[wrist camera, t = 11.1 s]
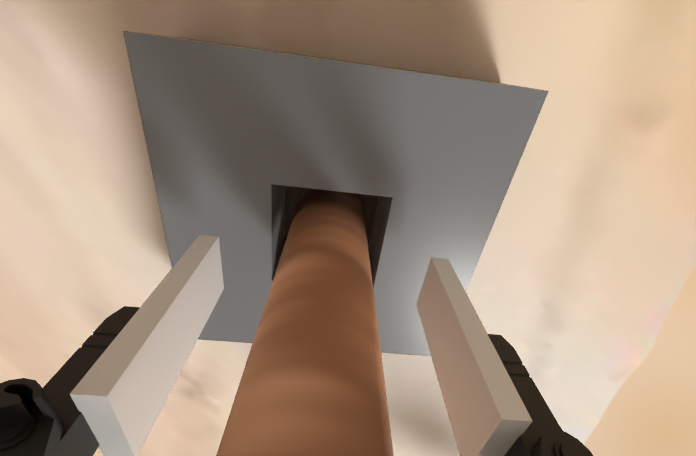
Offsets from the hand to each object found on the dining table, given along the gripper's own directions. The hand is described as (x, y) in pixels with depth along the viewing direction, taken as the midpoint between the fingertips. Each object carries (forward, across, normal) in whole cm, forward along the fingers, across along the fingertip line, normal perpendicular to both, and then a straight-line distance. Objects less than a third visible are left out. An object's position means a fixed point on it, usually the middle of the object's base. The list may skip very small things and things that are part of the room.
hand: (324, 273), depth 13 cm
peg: (+7, 0, 0) cm, 7 cm away
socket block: (+7, 0, 0) cm, 7 cm away
